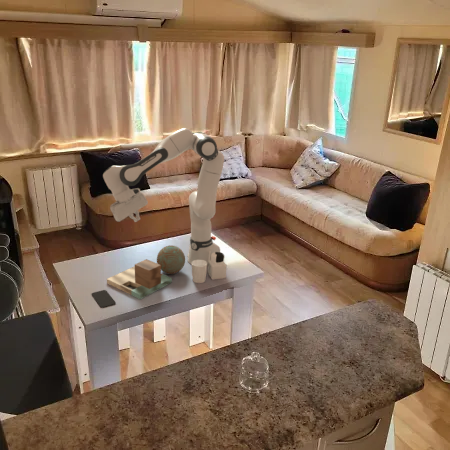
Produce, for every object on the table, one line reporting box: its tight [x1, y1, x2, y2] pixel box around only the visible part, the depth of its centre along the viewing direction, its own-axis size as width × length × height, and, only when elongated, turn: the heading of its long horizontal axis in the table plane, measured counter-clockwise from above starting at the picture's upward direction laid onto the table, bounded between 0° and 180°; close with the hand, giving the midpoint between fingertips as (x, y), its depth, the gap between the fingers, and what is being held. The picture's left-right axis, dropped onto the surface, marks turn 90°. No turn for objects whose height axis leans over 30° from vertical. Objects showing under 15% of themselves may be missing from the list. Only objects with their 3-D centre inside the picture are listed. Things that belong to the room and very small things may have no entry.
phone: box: [91, 289, 117, 309], centre depth 222 cm, size 7×1×15 cm
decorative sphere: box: [156, 245, 186, 275], centre depth 247 cm, size 15×15×15 cm
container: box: [207, 251, 227, 281], centre depth 245 cm, size 8×8×13 cm
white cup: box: [191, 260, 208, 284], centre depth 241 cm, size 8×8×10 cm
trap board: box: [106, 265, 173, 300], centre depth 237 cm, size 22×24×2 cm
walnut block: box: [134, 258, 162, 289], centre depth 231 cm, size 8×10×10 cm
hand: (137, 220), depth 237 cm, fingers closed
